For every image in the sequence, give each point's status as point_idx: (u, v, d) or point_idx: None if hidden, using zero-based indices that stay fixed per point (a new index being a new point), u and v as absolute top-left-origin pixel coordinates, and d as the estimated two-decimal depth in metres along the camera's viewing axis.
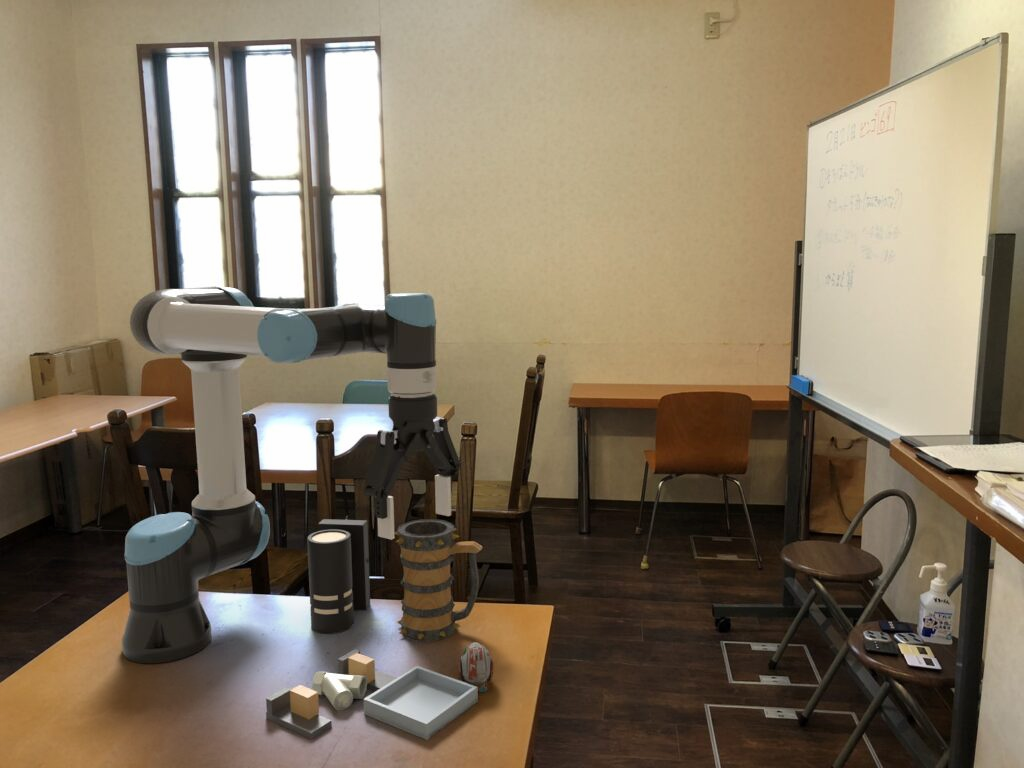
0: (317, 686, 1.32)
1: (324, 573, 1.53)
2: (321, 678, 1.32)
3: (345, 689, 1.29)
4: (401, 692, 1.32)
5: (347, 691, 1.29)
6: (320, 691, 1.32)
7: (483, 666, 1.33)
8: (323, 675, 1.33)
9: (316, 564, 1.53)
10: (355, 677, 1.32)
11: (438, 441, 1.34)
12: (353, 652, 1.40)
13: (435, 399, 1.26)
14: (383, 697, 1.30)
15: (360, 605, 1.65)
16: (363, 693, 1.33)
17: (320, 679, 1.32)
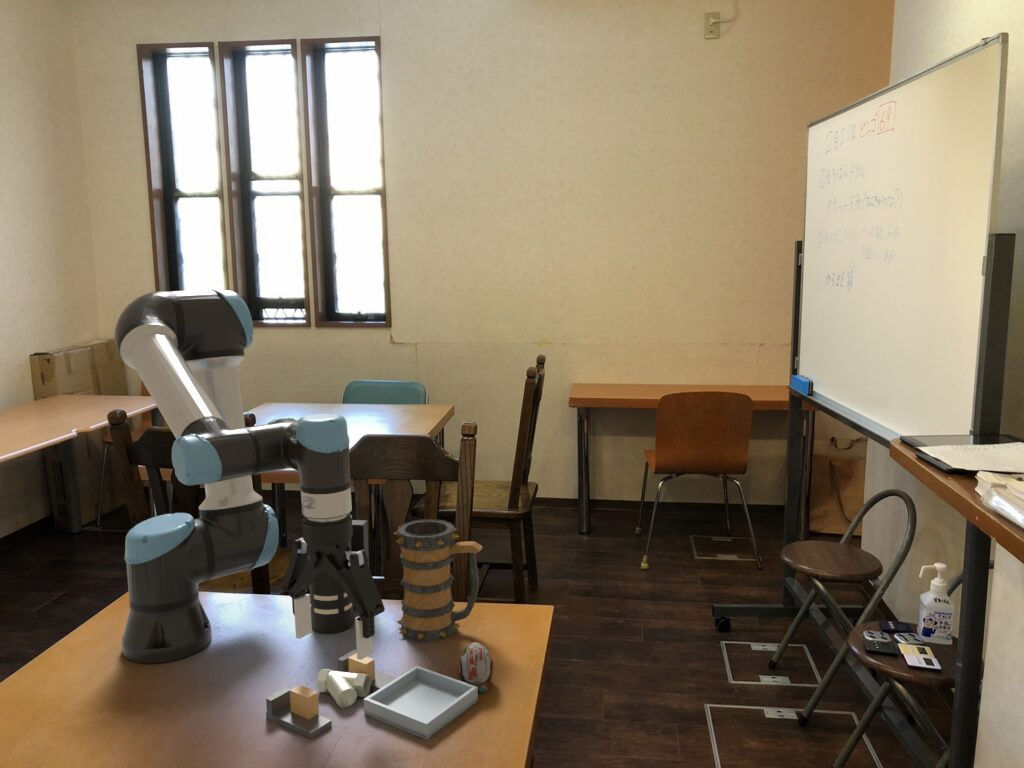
0: (321, 684, 1.33)
1: (324, 573, 1.53)
2: (325, 676, 1.33)
3: (349, 687, 1.30)
4: (401, 692, 1.32)
5: (351, 689, 1.29)
6: (324, 689, 1.33)
7: (483, 666, 1.33)
8: (327, 673, 1.33)
9: None
10: (359, 675, 1.32)
11: None
12: (353, 652, 1.40)
13: (316, 527, 1.23)
14: (383, 697, 1.30)
15: None
16: (367, 691, 1.33)
17: (324, 677, 1.33)
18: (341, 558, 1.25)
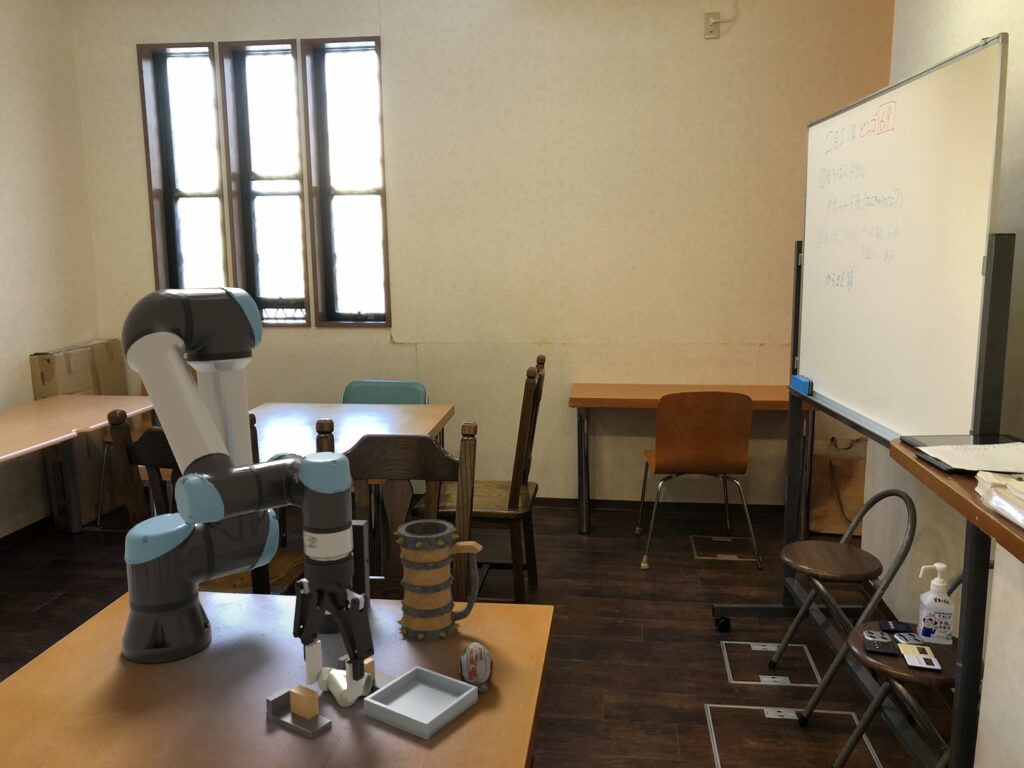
0: (323, 682, 1.33)
1: None
2: (327, 674, 1.33)
3: None
4: (401, 692, 1.32)
5: None
6: (326, 687, 1.33)
7: (483, 666, 1.33)
8: (329, 671, 1.33)
9: None
10: None
11: None
12: None
13: (317, 566, 1.24)
14: (383, 697, 1.30)
15: None
16: (368, 690, 1.33)
17: (326, 675, 1.33)
18: (342, 597, 1.26)
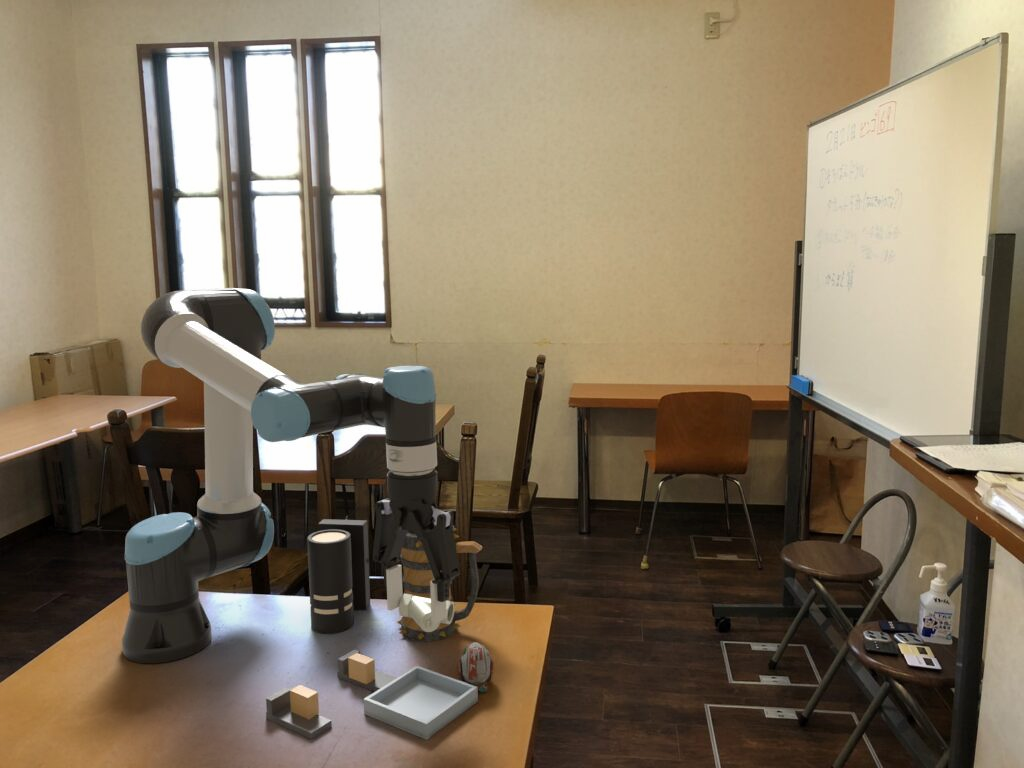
0: (404, 607, 1.28)
1: (324, 573, 1.53)
2: (408, 599, 1.28)
3: None
4: (401, 692, 1.32)
5: None
6: (406, 613, 1.28)
7: (483, 666, 1.33)
8: (410, 597, 1.29)
9: (316, 564, 1.53)
10: None
11: None
12: (353, 652, 1.40)
13: (403, 481, 1.20)
14: (383, 697, 1.30)
15: (360, 605, 1.65)
16: (450, 619, 1.28)
17: (407, 600, 1.28)
18: (427, 514, 1.21)
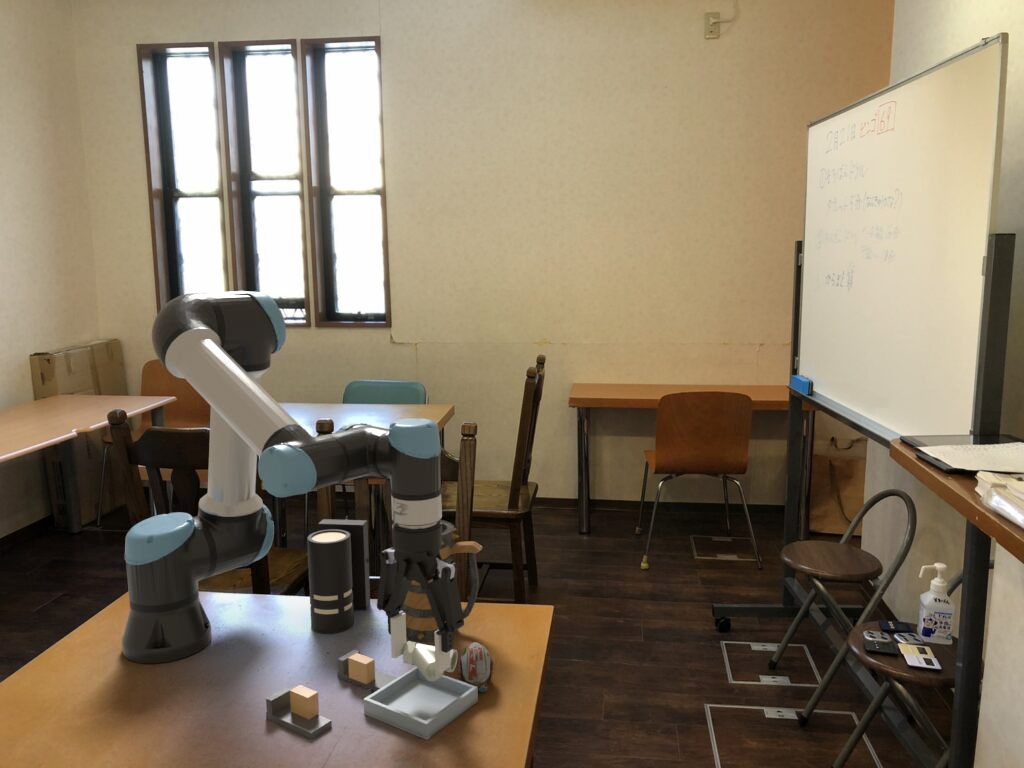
0: (408, 655, 1.29)
1: (324, 573, 1.53)
2: (412, 647, 1.30)
3: None
4: (401, 692, 1.32)
5: None
6: (410, 660, 1.29)
7: (483, 666, 1.33)
8: (414, 645, 1.30)
9: (316, 564, 1.53)
10: None
11: None
12: (353, 652, 1.40)
13: (408, 534, 1.21)
14: (383, 697, 1.30)
15: (360, 605, 1.65)
16: (453, 667, 1.30)
17: (411, 648, 1.30)
18: (432, 567, 1.23)
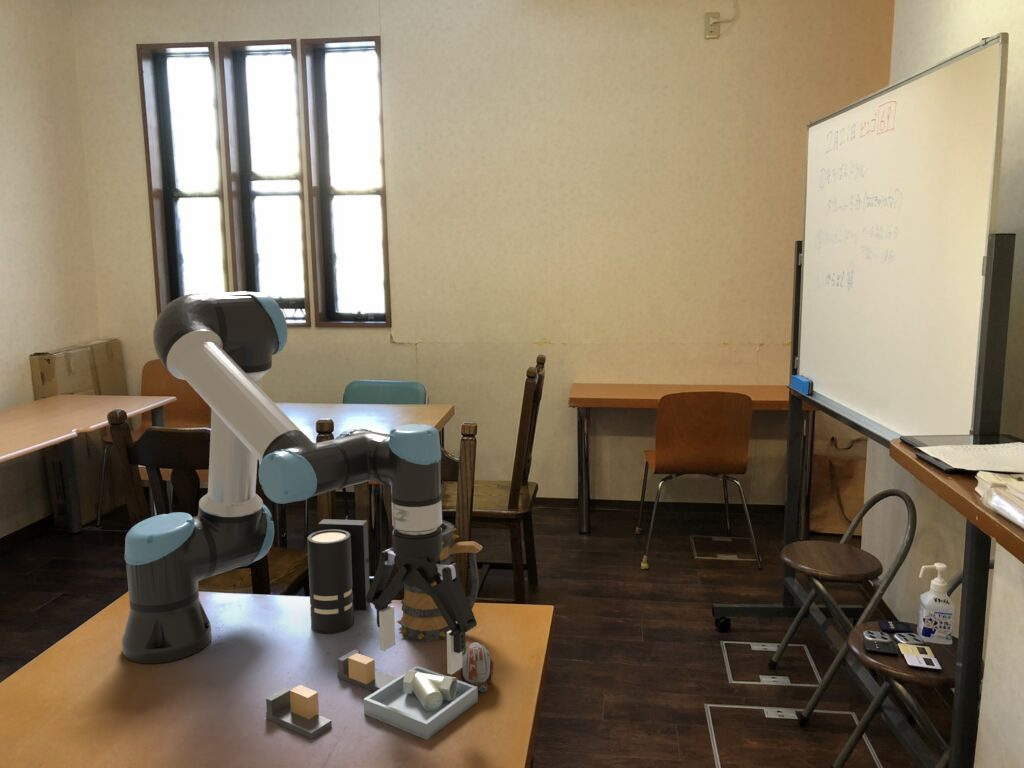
0: (407, 685, 1.30)
1: (324, 573, 1.53)
2: (412, 677, 1.31)
3: (435, 690, 1.27)
4: (401, 692, 1.32)
5: (437, 692, 1.27)
6: (410, 690, 1.30)
7: (483, 666, 1.33)
8: (414, 674, 1.31)
9: (316, 564, 1.53)
10: (445, 678, 1.29)
11: None
12: (353, 652, 1.40)
13: (408, 540, 1.21)
14: (383, 697, 1.30)
15: (360, 605, 1.65)
16: (453, 695, 1.30)
17: (411, 678, 1.31)
18: (432, 571, 1.23)
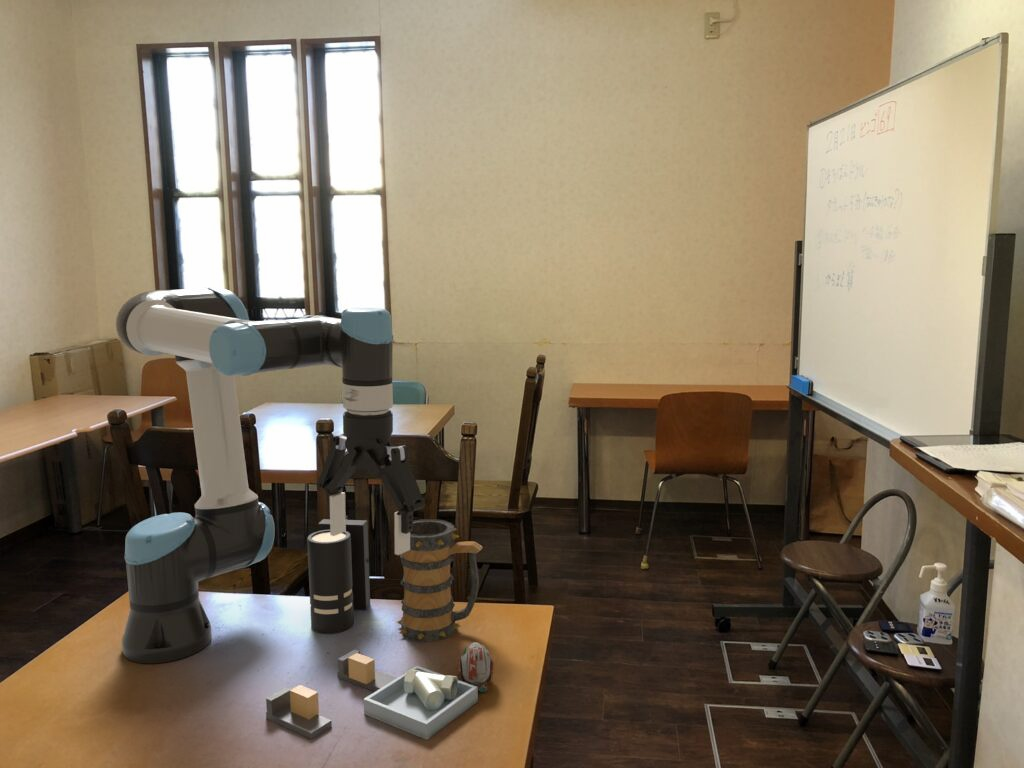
0: (408, 684, 1.31)
1: (324, 573, 1.53)
2: (412, 676, 1.31)
3: (436, 689, 1.27)
4: (401, 692, 1.32)
5: (438, 691, 1.27)
6: (411, 689, 1.31)
7: (483, 666, 1.33)
8: (414, 673, 1.31)
9: (316, 564, 1.53)
10: (446, 677, 1.30)
11: None
12: (353, 652, 1.40)
13: (358, 420, 1.22)
14: (383, 697, 1.30)
15: (360, 605, 1.65)
16: (454, 694, 1.31)
17: (411, 677, 1.31)
18: (382, 453, 1.23)
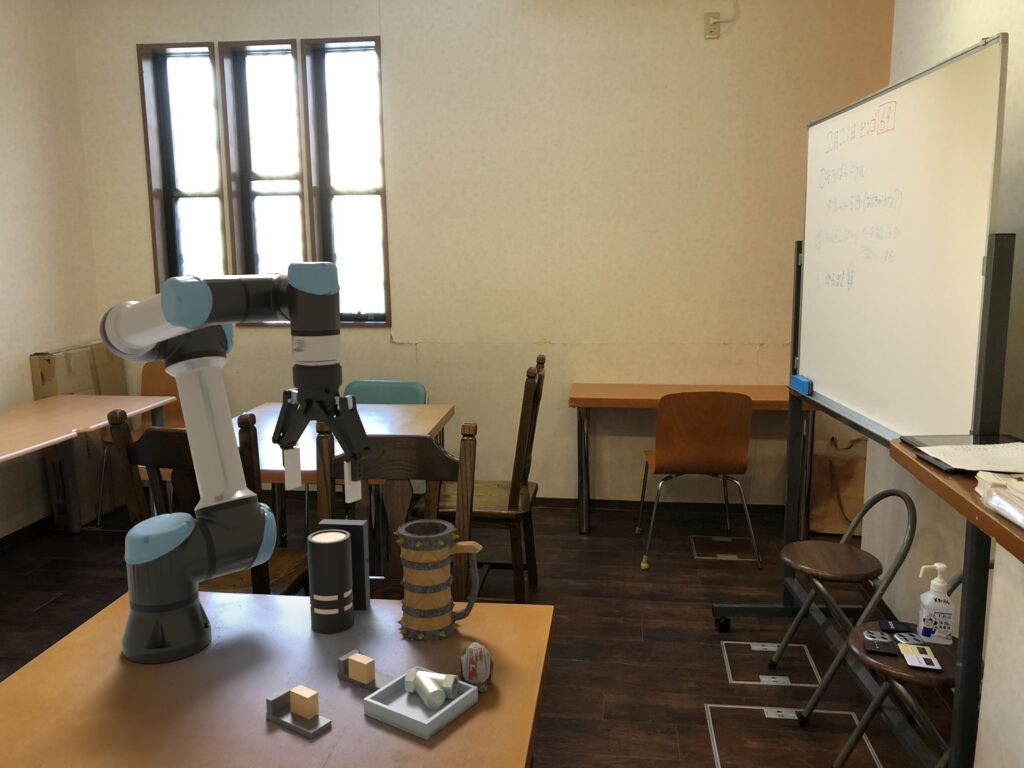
0: (409, 683, 1.31)
1: (324, 573, 1.53)
2: (413, 676, 1.31)
3: (438, 688, 1.27)
4: (401, 692, 1.32)
5: (440, 690, 1.27)
6: (412, 689, 1.31)
7: (483, 666, 1.33)
8: (415, 673, 1.31)
9: (316, 564, 1.53)
10: (447, 676, 1.30)
11: None
12: (353, 652, 1.40)
13: (305, 370, 1.24)
14: (383, 697, 1.30)
15: (360, 605, 1.65)
16: (455, 693, 1.31)
17: (412, 677, 1.31)
18: (330, 402, 1.26)
